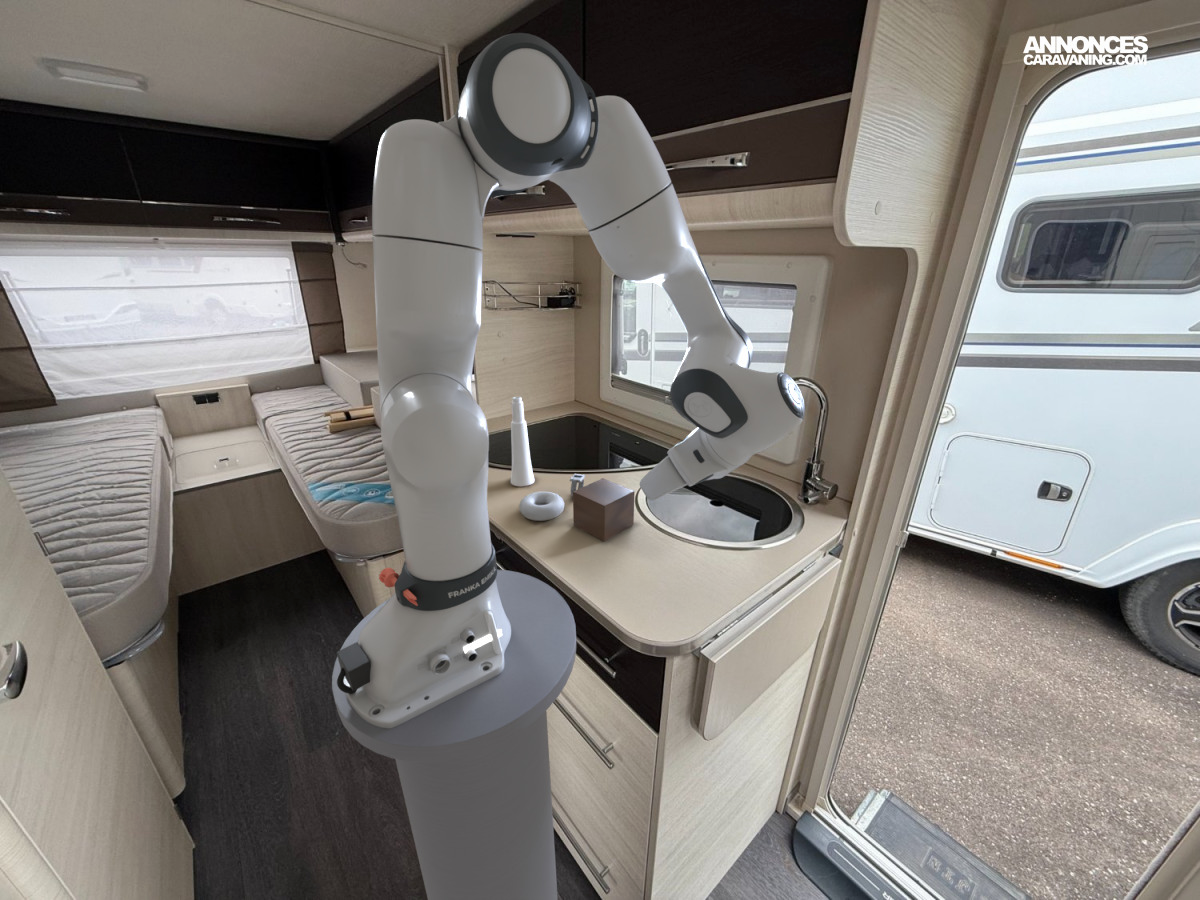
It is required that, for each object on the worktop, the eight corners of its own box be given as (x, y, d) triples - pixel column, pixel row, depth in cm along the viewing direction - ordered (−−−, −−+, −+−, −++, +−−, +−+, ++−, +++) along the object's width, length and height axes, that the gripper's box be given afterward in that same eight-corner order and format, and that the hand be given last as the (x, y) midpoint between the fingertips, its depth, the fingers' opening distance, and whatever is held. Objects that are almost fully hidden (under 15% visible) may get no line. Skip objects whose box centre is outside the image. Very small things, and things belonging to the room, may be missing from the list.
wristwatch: (579, 502, 108) (578, 483, 107) (567, 501, 109) (567, 481, 107) (587, 491, 114) (586, 472, 112) (576, 489, 115) (576, 471, 113)
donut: (558, 526, 99) (569, 503, 108) (558, 511, 97) (568, 490, 107) (513, 522, 100) (527, 500, 109) (512, 508, 99) (526, 486, 108)
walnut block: (604, 541, 93) (604, 505, 90) (573, 525, 99) (572, 491, 96) (633, 524, 99) (634, 490, 96) (602, 510, 105) (602, 478, 102)
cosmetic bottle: (535, 476, 122) (531, 394, 114) (533, 486, 116) (527, 401, 108) (512, 476, 122) (506, 394, 114) (508, 486, 116) (501, 401, 108)
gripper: (734, 419, 82) (683, 456, 92) (666, 449, 68) (614, 489, 78) (755, 449, 81) (701, 483, 91) (689, 486, 67) (634, 522, 77)
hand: (660, 486), depth 84 cm, fingers closed
